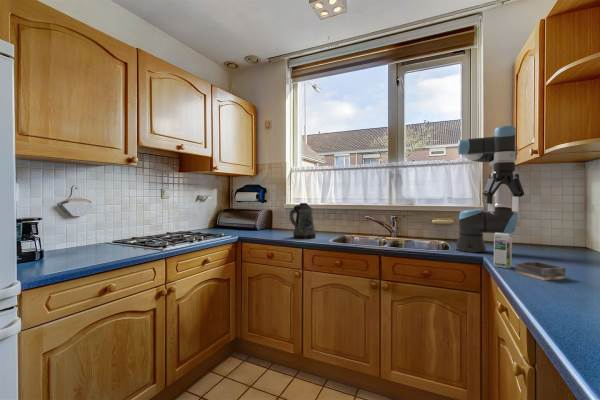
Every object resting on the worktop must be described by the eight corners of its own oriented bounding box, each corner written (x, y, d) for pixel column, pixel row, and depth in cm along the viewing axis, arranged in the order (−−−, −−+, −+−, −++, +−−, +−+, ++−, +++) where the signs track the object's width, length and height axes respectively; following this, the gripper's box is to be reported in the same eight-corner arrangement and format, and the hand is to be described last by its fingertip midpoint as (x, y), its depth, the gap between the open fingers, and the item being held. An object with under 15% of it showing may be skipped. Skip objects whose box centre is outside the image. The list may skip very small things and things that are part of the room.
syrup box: (493, 266, 125) (493, 233, 124) (496, 264, 129) (496, 232, 129) (509, 268, 120) (509, 234, 120) (511, 266, 125) (512, 233, 125)
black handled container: (319, 237, 211) (320, 203, 211) (306, 240, 194) (306, 203, 194) (300, 235, 220) (301, 202, 219) (286, 238, 203) (286, 203, 203)
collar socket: (535, 271, 117) (535, 261, 117) (565, 278, 106) (565, 267, 106) (515, 272, 114) (515, 262, 114) (544, 280, 104) (544, 269, 104)
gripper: (489, 160, 117) (488, 211, 117) (535, 162, 124) (534, 211, 124) (473, 162, 124) (473, 211, 125) (517, 164, 131) (516, 211, 131)
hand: (503, 211), depth 124 cm, fingers open, 13 cm apart
